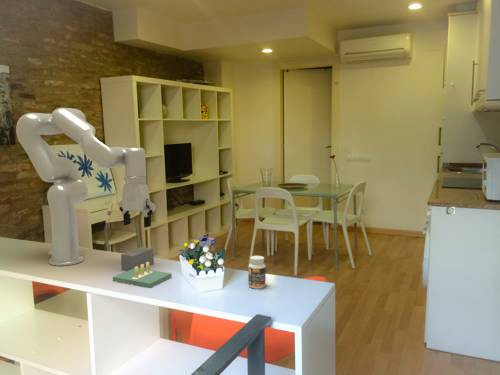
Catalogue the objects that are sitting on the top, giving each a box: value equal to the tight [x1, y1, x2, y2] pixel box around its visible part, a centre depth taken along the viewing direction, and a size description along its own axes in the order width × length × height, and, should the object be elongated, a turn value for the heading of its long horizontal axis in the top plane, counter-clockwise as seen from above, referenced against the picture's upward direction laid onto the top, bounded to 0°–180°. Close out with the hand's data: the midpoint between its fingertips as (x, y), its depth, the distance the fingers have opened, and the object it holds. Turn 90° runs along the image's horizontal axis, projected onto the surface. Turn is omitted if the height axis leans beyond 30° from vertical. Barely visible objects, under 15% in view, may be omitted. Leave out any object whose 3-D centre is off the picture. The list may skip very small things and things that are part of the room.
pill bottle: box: [247, 255, 267, 290], centre depth 147 cm, size 6×6×10 cm
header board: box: [112, 262, 172, 289], centre depth 154 cm, size 16×12×5 cm
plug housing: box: [120, 246, 155, 272], centre depth 169 cm, size 12×6×6 cm, turn 155°
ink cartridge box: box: [190, 233, 217, 252], centre depth 162 cm, size 10×6×14 cm, turn 155°
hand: (137, 225), depth 167 cm, fingers open, 9 cm apart
